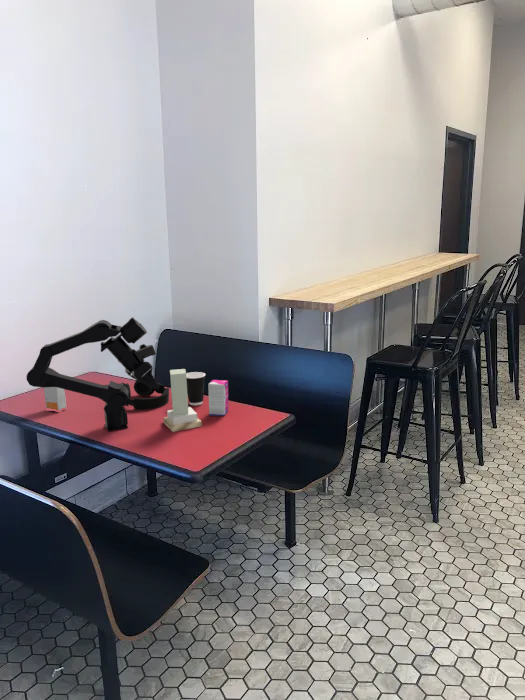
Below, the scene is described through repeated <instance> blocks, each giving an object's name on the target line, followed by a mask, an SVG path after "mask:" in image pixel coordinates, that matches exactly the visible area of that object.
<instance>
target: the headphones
mask: <svg viewBox="0 0 525 700" xmlns="http://www.w3.org/2000/svg"><path fill="white" fill-rule="evenodd" d="M121 383H122V386H125V387H126V388H127V389H128V391H129V398H128V401H127V403H126V405H125V406H126V407H129V406H132V407H133V409H134V410H140V411H145V410H152V409H153V410H154V409H158V408H161V407H164V406H166V405H167V404H168V403H169V402H170V401H169V399H170V388H169V387H166V386H165V385H164V384H162V383H160V382H156V383H157V384H158V386H159V388H158V389H157V390H156V389H154V388H152V387H150V386H148V385H146V384H144V383H142V382H140V381H138V380H136V379H135V382H134V384H133V390H134V392H135V393H136V395H138V396H141V397H143V398H140V397H133V398H132V394H131V386H130V384H129V383H125V382H121ZM154 393H157V394H160V395H158V396H154V397H149V396H152V395H153V394H154ZM145 397H146V398H145Z"/></svg>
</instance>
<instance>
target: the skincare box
mask: <svg viewBox="0 0 525 700" xmlns="http://www.w3.org/2000/svg"><path fill="white" fill-rule="evenodd" d="M43 392H44V401H45V409H46V408H51V409H56V410H60V409H62V408H65V407H66V408H67V401H66V392H65V389H61V388H58V387H43Z"/></svg>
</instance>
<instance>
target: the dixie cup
mask: <svg viewBox="0 0 525 700" xmlns="http://www.w3.org/2000/svg"><path fill="white" fill-rule="evenodd" d="M205 376H206V373H205V372H202V371H200V372H199V371H193V372H192V371H191V372H186V380H187V396H188V403H189V405H191V406H200V405H202V404H203V403H204V402H203V401H204V396H205V395H204V394H205V392H204V391H205V379H206V378H205Z"/></svg>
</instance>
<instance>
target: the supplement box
mask: <svg viewBox="0 0 525 700" xmlns="http://www.w3.org/2000/svg"><path fill="white" fill-rule="evenodd" d="M227 413H229V380H226V379H225V380H223V379H221V380H219V379H212V380H211V381H210V382H209V383H208V416H211V417H212V416H214V417H215V416H216V417H224V416H226V414H227Z"/></svg>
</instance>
